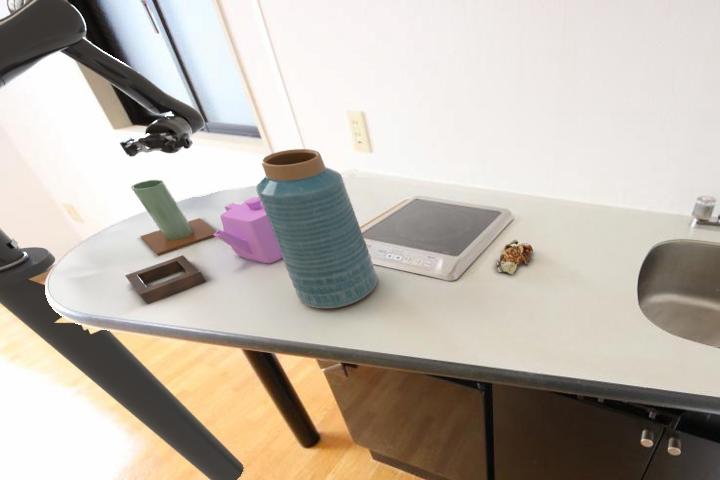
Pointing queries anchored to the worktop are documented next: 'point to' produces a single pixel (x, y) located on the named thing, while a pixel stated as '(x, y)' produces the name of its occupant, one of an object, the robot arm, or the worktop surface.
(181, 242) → the mat
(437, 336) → the worktop surface
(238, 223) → the teakettle
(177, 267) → the rectangular frame
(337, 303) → the vase
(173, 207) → the cup
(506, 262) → the pastry
